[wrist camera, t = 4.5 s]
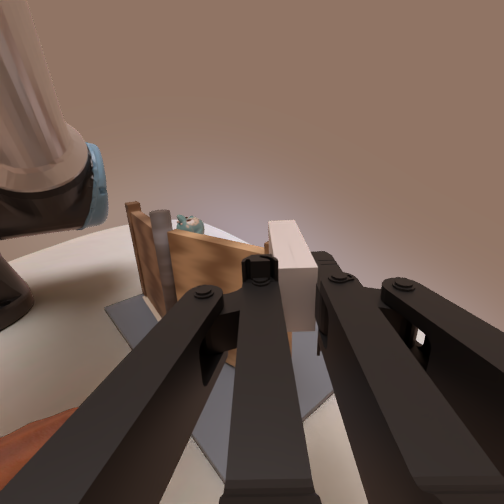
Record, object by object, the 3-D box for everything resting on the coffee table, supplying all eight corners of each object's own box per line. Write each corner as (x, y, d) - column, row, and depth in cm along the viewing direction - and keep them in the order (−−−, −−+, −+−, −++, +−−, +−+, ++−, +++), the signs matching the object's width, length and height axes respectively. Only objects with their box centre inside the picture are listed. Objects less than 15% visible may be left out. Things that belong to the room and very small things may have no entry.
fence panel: (182, 340, 33) (163, 222, 28) (192, 333, 34) (176, 218, 29) (282, 394, 25) (283, 247, 20) (291, 382, 27) (293, 240, 22)
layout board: (105, 310, 41) (104, 306, 41) (229, 265, 54) (229, 262, 54) (229, 490, 19) (228, 485, 19) (386, 343, 32) (387, 338, 32)
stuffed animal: (142, 221, 66) (189, 203, 71) (153, 248, 69) (197, 229, 74) (155, 232, 57) (207, 211, 62) (167, 262, 61) (216, 240, 66)
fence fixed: (190, 339, 34) (172, 212, 29) (174, 345, 33) (152, 215, 27) (155, 292, 45) (136, 193, 39) (142, 296, 44) (121, 195, 38)
